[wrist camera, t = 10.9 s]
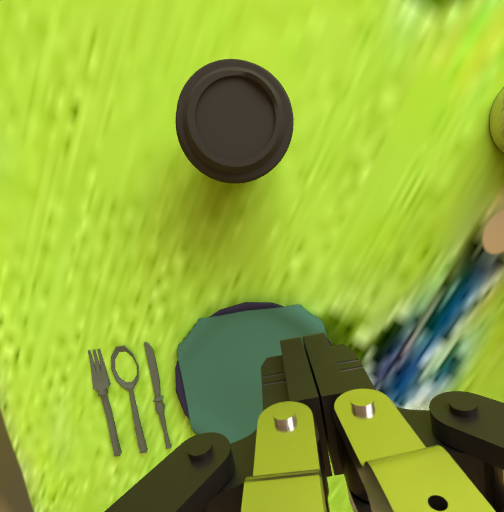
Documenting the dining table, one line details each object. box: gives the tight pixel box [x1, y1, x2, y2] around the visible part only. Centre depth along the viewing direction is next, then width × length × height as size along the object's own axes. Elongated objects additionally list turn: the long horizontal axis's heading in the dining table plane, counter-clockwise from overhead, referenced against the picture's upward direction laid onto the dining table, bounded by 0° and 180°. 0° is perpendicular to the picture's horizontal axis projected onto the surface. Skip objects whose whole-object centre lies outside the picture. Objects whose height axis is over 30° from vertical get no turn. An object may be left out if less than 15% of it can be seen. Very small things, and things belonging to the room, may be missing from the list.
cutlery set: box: [88, 302, 332, 456], centre depth 47 cm, size 20×30×2 cm, turn 98°
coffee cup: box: [176, 59, 293, 183], centre depth 34 cm, size 9×9×15 cm
